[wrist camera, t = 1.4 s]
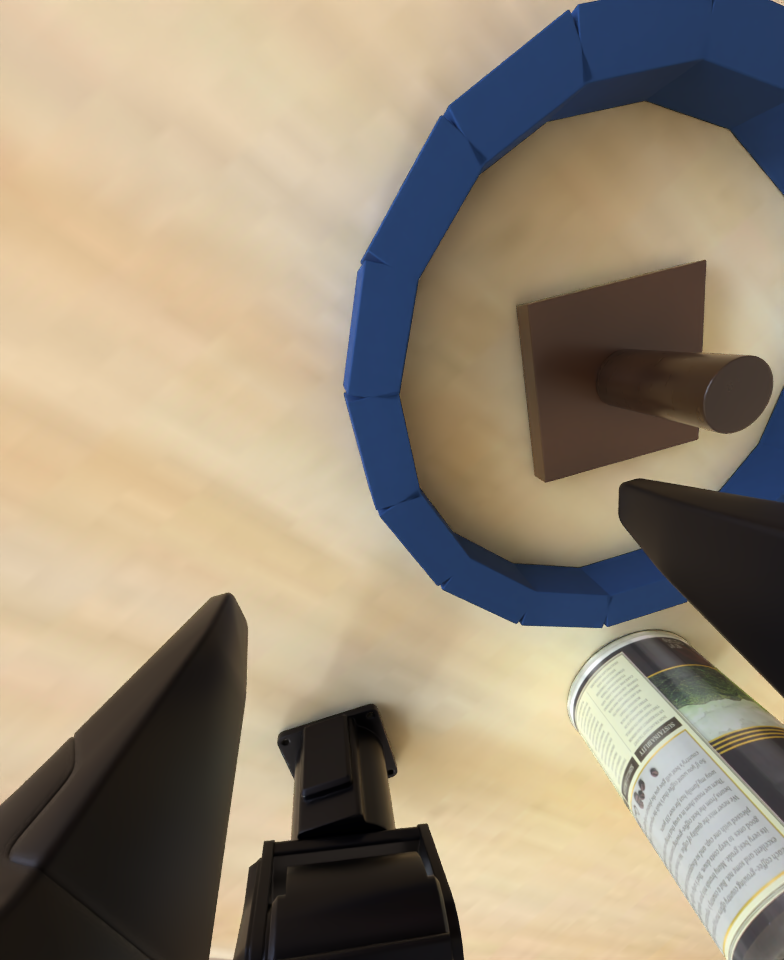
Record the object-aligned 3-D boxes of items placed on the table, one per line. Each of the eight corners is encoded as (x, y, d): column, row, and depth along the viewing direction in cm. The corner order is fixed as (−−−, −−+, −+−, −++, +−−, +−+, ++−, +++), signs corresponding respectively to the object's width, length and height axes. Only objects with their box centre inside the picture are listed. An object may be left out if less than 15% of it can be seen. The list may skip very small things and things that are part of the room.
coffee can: (677, 603, 28) (987, 836, 15) (706, 696, 32) (974, 947, 19) (544, 676, 29) (737, 968, 15) (589, 760, 32) (773, 1051, 19)
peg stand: (681, 434, 24) (830, 476, 17) (534, 475, 23) (627, 537, 16) (686, 263, 21) (872, 227, 14) (516, 305, 20) (621, 291, 13)
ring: (800, 527, 28) (854, 549, 25) (412, 647, 26) (423, 685, 23) (883, -14, 18) (985, -76, 15) (267, 112, 16) (256, 65, 13)
